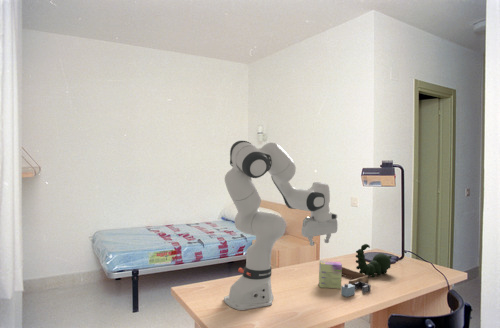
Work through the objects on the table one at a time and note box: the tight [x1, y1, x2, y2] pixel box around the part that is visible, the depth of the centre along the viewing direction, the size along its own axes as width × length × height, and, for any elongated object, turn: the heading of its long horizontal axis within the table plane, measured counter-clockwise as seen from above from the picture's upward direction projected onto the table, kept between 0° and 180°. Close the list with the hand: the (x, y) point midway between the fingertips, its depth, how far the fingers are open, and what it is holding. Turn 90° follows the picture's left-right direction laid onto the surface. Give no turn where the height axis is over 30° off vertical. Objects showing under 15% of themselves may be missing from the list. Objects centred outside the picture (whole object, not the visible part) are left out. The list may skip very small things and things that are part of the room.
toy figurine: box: [355, 243, 393, 278], centre depth 192 cm, size 9×19×25 cm
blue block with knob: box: [340, 283, 356, 298], centre depth 164 cm, size 6×3×5 cm, turn 126°
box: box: [318, 260, 343, 290], centre depth 174 cm, size 10×6×12 cm, turn 84°
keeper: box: [354, 281, 371, 294], centre depth 170 cm, size 5×6×3 cm
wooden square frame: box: [342, 266, 369, 285], centre depth 181 cm, size 14×17×4 cm
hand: (319, 244), depth 169 cm, fingers open, 8 cm apart
